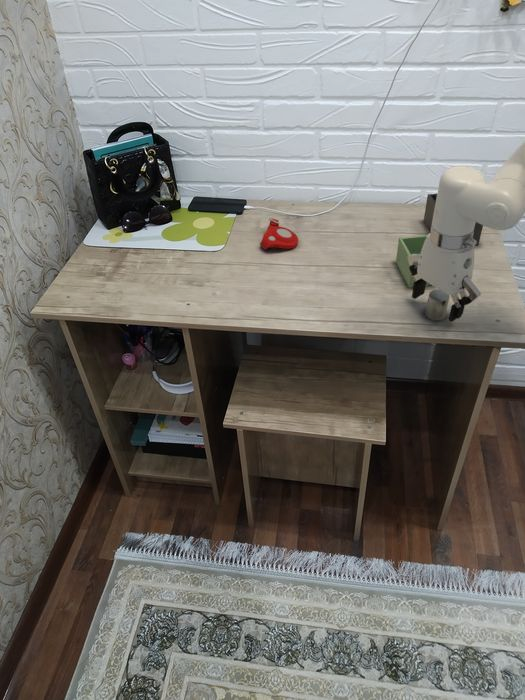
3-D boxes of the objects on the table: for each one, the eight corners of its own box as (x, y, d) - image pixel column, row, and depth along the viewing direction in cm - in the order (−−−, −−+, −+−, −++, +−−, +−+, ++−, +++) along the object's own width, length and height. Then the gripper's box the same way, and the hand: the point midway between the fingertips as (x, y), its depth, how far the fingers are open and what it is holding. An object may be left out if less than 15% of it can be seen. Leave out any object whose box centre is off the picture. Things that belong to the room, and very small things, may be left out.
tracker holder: (307, 238, 141) (278, 246, 134) (301, 253, 144) (273, 261, 137) (276, 211, 146) (247, 217, 140) (271, 225, 149) (242, 232, 142)
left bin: (449, 283, 126) (454, 258, 122) (408, 287, 126) (412, 262, 121) (434, 258, 134) (438, 233, 129) (395, 262, 133) (398, 237, 129)
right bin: (478, 245, 137) (485, 216, 132) (441, 249, 136) (446, 221, 131) (458, 217, 146) (463, 190, 141) (423, 221, 146) (427, 194, 141)
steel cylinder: (448, 319, 117) (452, 300, 114) (429, 321, 117) (432, 302, 114) (441, 307, 120) (445, 288, 117) (423, 309, 120) (426, 290, 117)
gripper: (503, 247, 102) (482, 320, 114) (428, 210, 113) (416, 280, 124) (476, 262, 99) (457, 336, 111) (402, 223, 109) (392, 294, 121)
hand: (435, 306), depth 117 cm, fingers open, 9 cm apart
